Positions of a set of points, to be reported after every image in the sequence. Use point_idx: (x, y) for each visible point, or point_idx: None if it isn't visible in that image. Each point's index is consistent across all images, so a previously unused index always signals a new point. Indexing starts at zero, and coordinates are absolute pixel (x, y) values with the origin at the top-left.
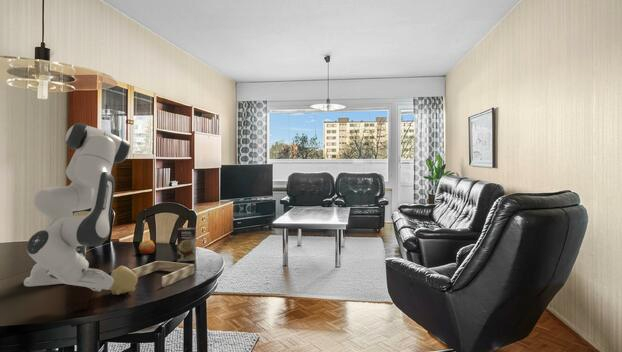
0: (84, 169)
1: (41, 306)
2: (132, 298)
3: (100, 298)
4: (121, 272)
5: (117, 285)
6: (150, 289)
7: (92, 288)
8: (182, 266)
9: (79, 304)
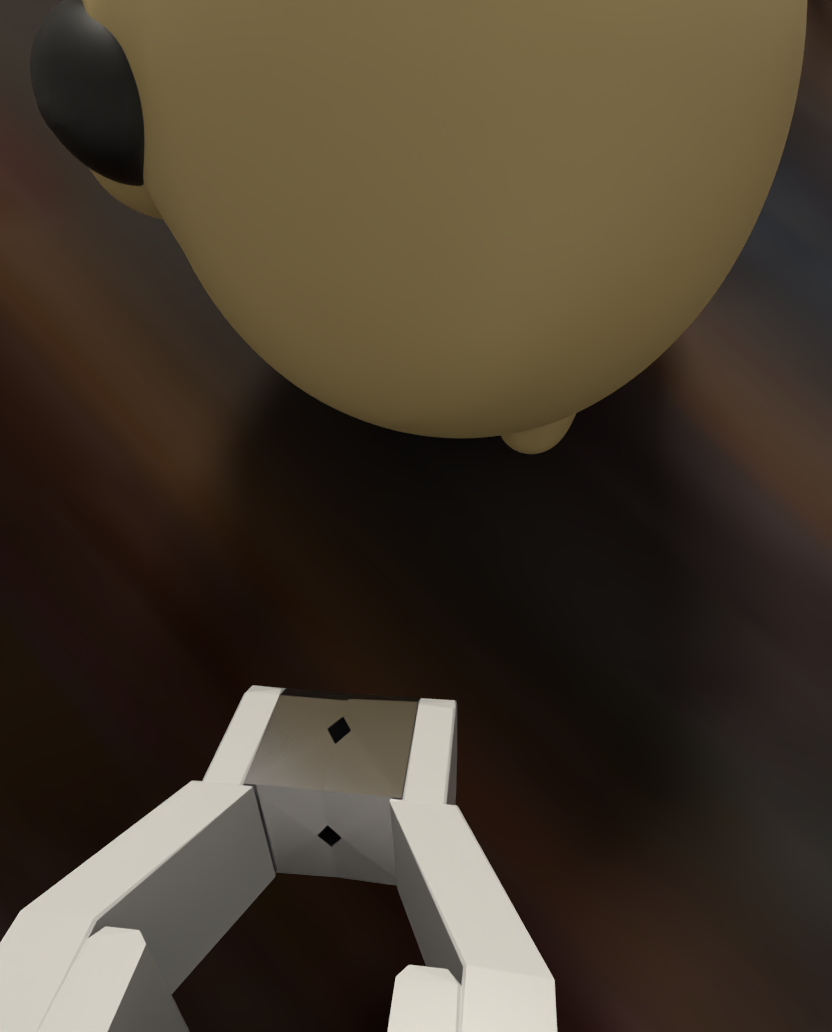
0: None
1: None
2: (761, 405)
3: (289, 542)
4: (650, 61)
5: (587, 401)
6: None
7: (288, 868)
8: None
9: None
